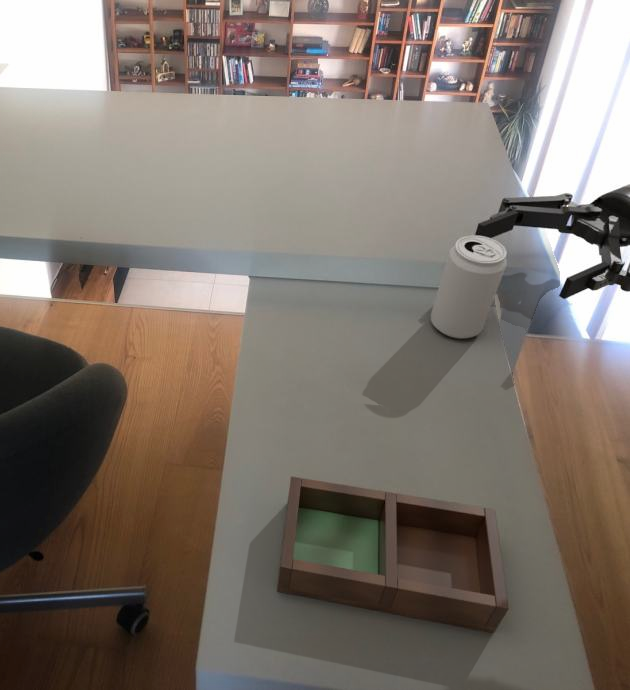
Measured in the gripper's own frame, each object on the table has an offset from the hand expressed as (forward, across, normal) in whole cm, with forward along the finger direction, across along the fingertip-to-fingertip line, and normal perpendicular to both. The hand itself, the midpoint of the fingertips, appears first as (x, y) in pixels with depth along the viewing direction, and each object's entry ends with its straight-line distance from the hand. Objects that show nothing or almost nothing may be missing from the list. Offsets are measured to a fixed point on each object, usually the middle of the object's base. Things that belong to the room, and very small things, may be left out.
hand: (519, 259), depth 86 cm
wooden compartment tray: (+39, -21, -7) cm, 45 cm away
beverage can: (+8, 0, -8) cm, 11 cm away
